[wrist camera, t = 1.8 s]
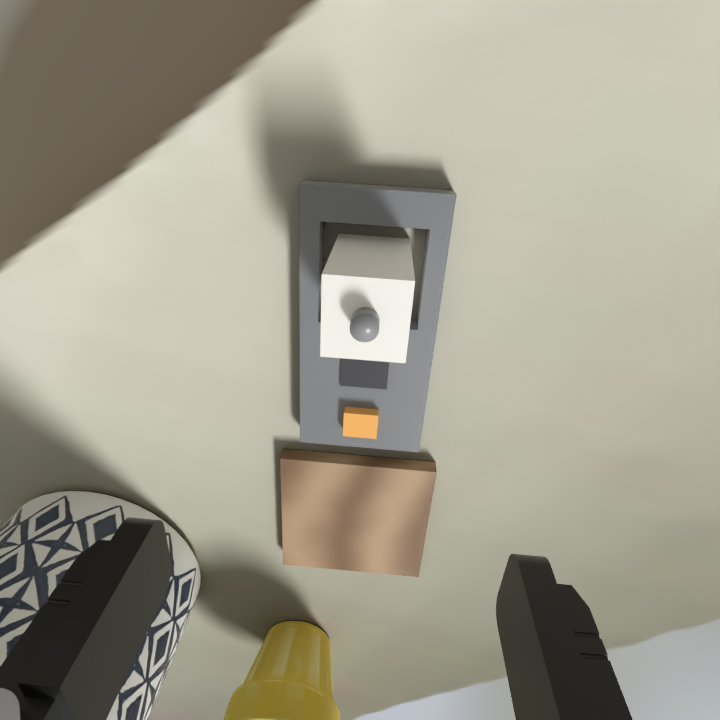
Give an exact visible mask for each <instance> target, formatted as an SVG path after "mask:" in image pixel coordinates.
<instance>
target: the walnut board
mask: <svg viewBox="0 0 720 720" xmlns="http://www.w3.org/2000/svg"><path fill="white" fill-rule="evenodd" d="M280 474H281V508H282V542H283V564H286V565H297V566H307V567H318V568H329V569H339V570H350V571H361V572H371V573H382V574H393V575H403V576H414V577H418V576H419V571H420V565H421V559H422V553H423V548H424V542H425V536H426V530H427V524H428V519H429V513H430V507H431V501H432V495H433V490H434V484H435V478H436V463H435V462H430V461H419V460H407V459H396V458H384V457H373V456H361V455H349V454H338V453H326V452H315V451H303V450H292V449H283V451H282V454H281V457H280Z"/></svg>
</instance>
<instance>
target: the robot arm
mask: <svg viewBox="0 0 720 720" xmlns="http://www.w3.org/2000/svg"><path fill="white" fill-rule="evenodd" d="M170 576H171V559H170V553H169V548H168V543H167V538H166V533H165V527H164V524H163V522H162V521H161V520H153V519H143V518H132V517H128V518H126V519H125V520H124V521H123V522H122V523H121V525H120V526H119V528H118V529H117V531H116V532H115V534H114V535H113V537H112V538H111V540H98V541H96V542H95V543H94V544H93V545H91V546H90V547H89V548H88V549H86V550H85V551H84V552H83V553H82V554H80V555H79V556H78V557H77V558H76V559H75V560H74V562H73V563H72V565H71V566H70V568H69V569H68V570H67V572H66V573H65V575H64V576H63V578H62V579H61V583H60V584H59V585H57V586H56V588H55V589H54V590H53V592H52V593H51V595H50V596H49V598H48V601H47V603H46V604H45V603H44V605H43V606H42V608H41V609H40V610H39V612H38V613H37V615H36V616H35V618H34V619H33V620H32V622H31V623H30V625H29V626H28V628H27V629H26V630H25V632H24V633H23V635H22V636H21V638H20V639H19V640H18V642H17V643H16V645H15V646H14V648H13V649H12V650H11V652H10V653H9V655H8V656H7V658H6V659H5V660H4V662H3V663H2V665H1V666H0V720H106V719H107V717H108V715H109V713H110V711H111V708H112V706H113V704H114V702H115V700H116V698H117V696H118V693H119V691H120V689H121V687H122V685H123V683H124V681H125V678H126V676H127V674H128V672H129V670H130V668H131V666H132V664H133V661H134V659H135V657H136V655H137V653H138V651H139V649H140V646H141V644H142V642H143V640H144V638H145V636H146V634H147V631H148V629H149V627H150V625H151V623H152V621H153V619H154V617H155V614H156V612H157V610H158V608H159V606H160V604H161V602H162V599H163V597H164V595H165V593H166V591H167V588H168V585H169V581H170ZM496 617H497V625H498V631H499V636H500V641H501V646H502V651H503V656H504V661H505V666H506V671H507V676H508V682H509V687H510V692H511V697H512V702H513V707H514V712H515V716H516V720H632V717H631V715H630V712H629V710H628V707H627V704H626V702H625V699H624V696H623V694H622V691H621V689H620V686H619V684H618V681H617V678H616V676H615V673H614V671H613V668H612V665H611V663H610V661H608V658H607V652H606V650H605V647H604V645H603V642H602V639H600V638H599V632H598V629H597V626H596V624H595V621H594V619H593V616H592V614H591V611H590V608H589V607H588V606H587V604H586V603H585V602H584V601H583V599H582V598H581V597H580V596H579V594H578V593H577V592H576V590H575V589H574V588H573V587H572V585H563V584H557V583H556V580H555V577H554V574H553V571H552V568H551V565H550V563H549V561H548V559H547V558H546V557H540V556H529V555H518V554H511V555H510V557H509V559H508V562H507V566H506V569H505V572H504V576H503V579H502V582H501V586H500V589H499V592H498V596H497V603H496Z"/></svg>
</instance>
